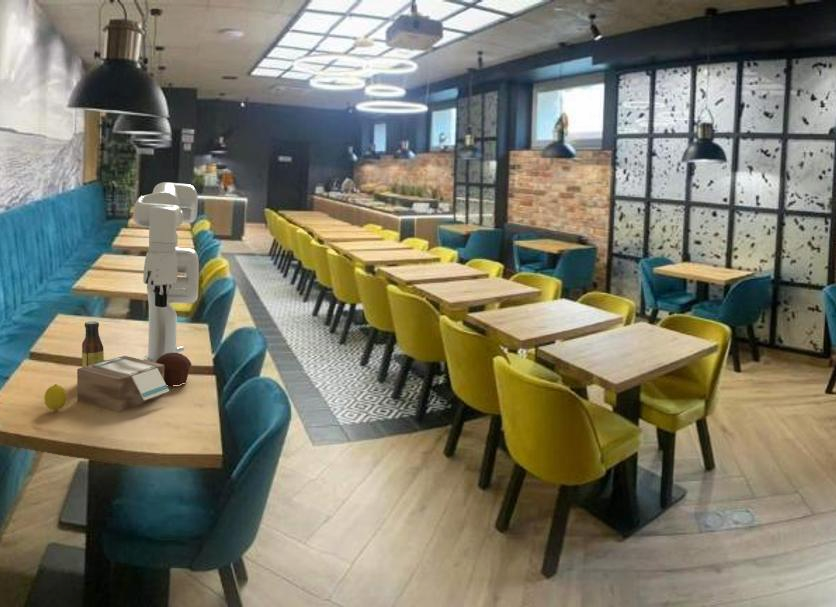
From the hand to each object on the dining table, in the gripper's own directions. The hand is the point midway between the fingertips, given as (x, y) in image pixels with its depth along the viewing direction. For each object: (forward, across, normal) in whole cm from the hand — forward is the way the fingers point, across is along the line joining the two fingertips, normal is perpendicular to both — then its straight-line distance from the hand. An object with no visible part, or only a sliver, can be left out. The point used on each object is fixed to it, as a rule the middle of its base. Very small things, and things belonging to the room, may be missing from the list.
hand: (160, 306), depth 196 cm
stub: (+22, +9, +5) cm, 24 cm away
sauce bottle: (+29, +3, -24) cm, 38 cm away
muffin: (+29, -11, -4) cm, 31 cm away
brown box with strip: (+28, +9, -6) cm, 31 cm away
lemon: (+29, +27, -12) cm, 41 cm away
